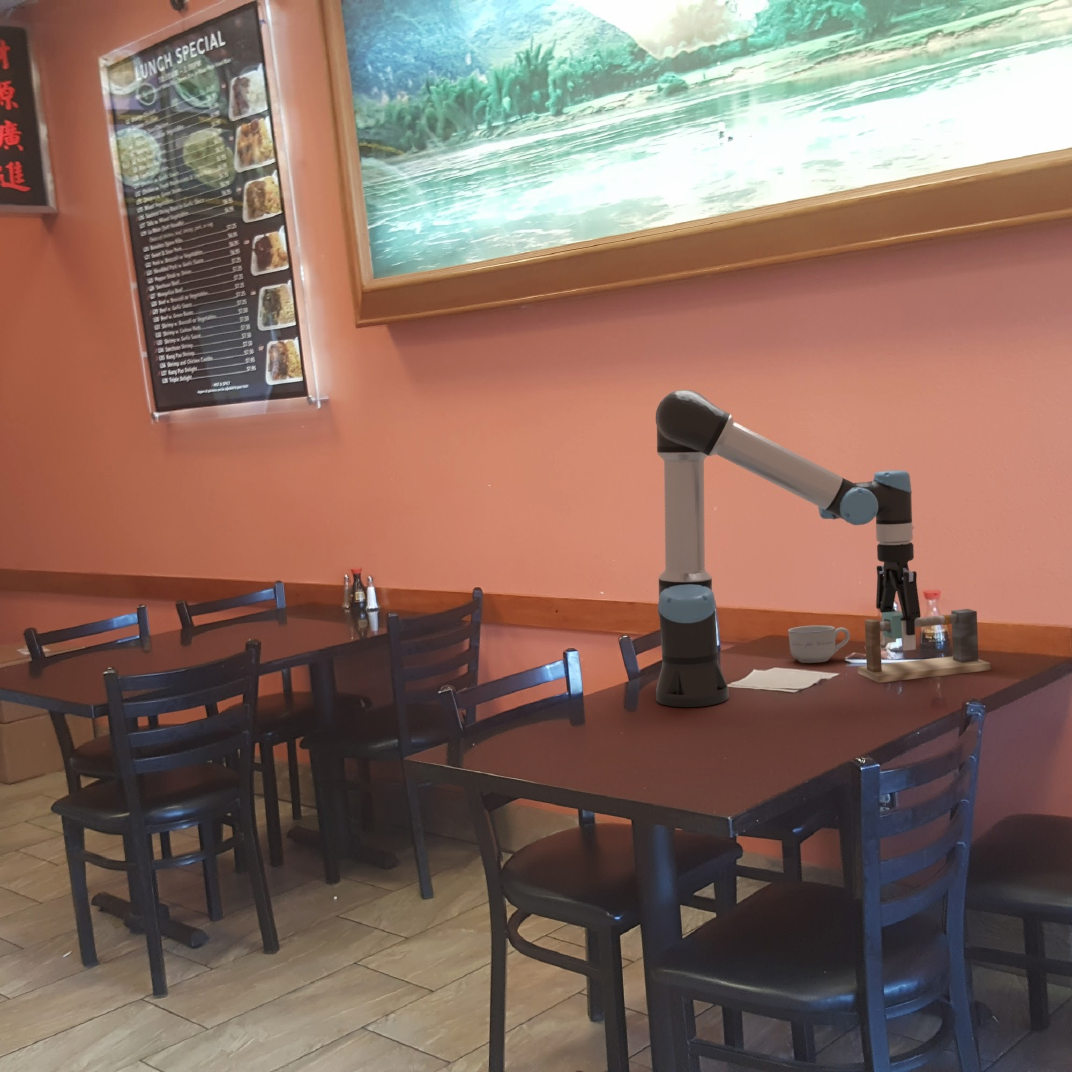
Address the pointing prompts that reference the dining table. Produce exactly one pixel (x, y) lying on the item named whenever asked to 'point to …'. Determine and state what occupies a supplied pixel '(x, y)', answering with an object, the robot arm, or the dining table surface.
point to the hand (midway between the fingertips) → (899, 645)
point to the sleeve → (893, 624)
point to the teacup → (815, 642)
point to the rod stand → (956, 664)
